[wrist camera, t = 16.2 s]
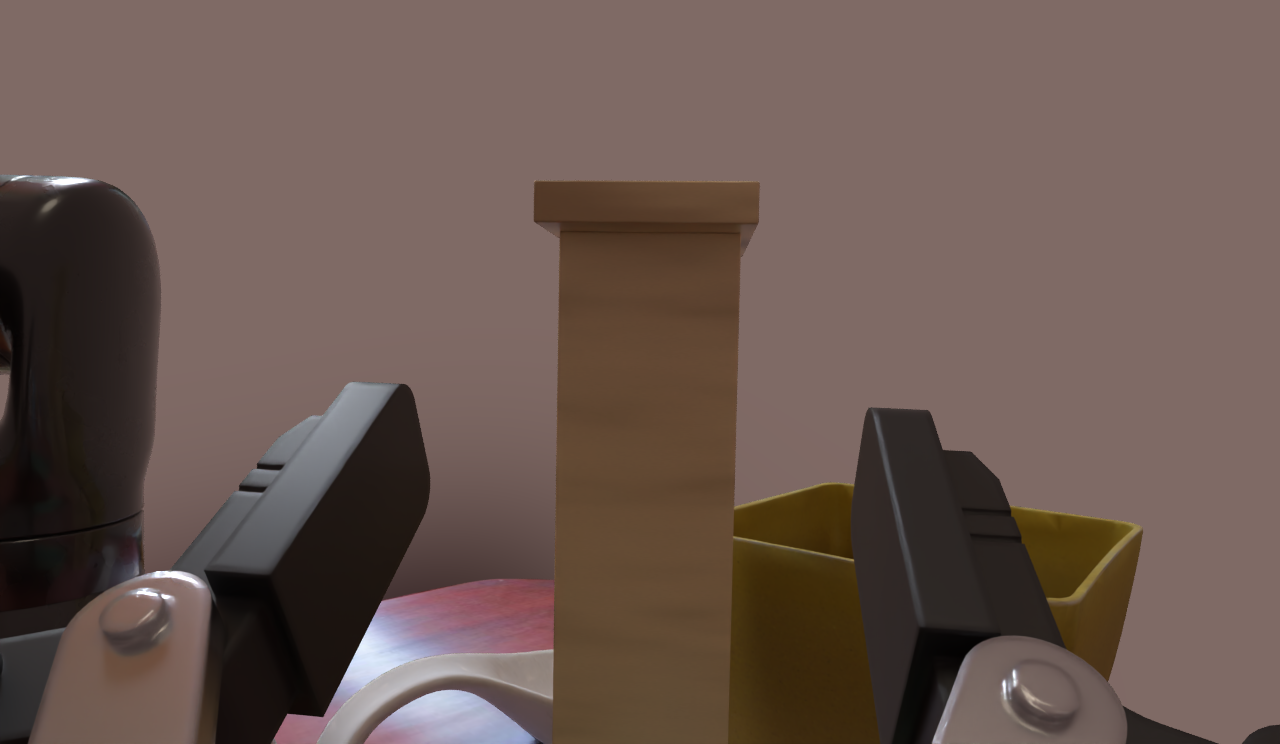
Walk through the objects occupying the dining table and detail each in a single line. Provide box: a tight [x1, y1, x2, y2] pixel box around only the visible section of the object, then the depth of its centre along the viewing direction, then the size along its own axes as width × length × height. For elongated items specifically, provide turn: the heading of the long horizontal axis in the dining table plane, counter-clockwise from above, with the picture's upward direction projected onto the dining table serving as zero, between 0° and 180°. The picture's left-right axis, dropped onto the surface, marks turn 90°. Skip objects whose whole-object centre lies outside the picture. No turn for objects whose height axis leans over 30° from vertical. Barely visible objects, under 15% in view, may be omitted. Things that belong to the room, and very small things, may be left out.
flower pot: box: [728, 482, 1143, 744], centre depth 44 cm, size 19×19×17 cm
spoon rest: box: [317, 650, 554, 744], centre depth 50 cm, size 24×12×7 cm, turn 127°
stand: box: [534, 180, 760, 744], centre depth 35 cm, size 12×8×32 cm, turn 175°
